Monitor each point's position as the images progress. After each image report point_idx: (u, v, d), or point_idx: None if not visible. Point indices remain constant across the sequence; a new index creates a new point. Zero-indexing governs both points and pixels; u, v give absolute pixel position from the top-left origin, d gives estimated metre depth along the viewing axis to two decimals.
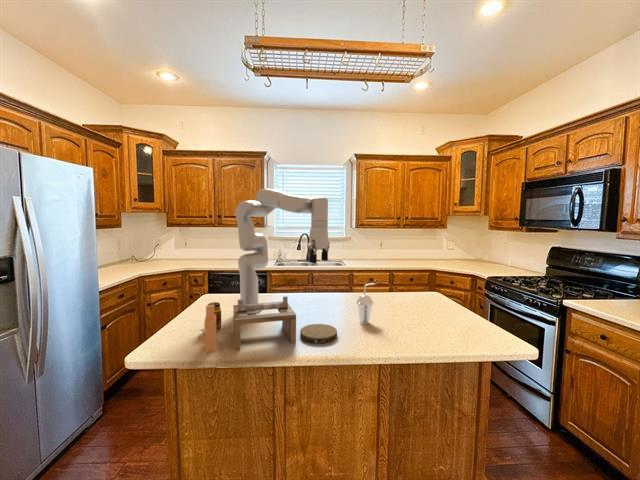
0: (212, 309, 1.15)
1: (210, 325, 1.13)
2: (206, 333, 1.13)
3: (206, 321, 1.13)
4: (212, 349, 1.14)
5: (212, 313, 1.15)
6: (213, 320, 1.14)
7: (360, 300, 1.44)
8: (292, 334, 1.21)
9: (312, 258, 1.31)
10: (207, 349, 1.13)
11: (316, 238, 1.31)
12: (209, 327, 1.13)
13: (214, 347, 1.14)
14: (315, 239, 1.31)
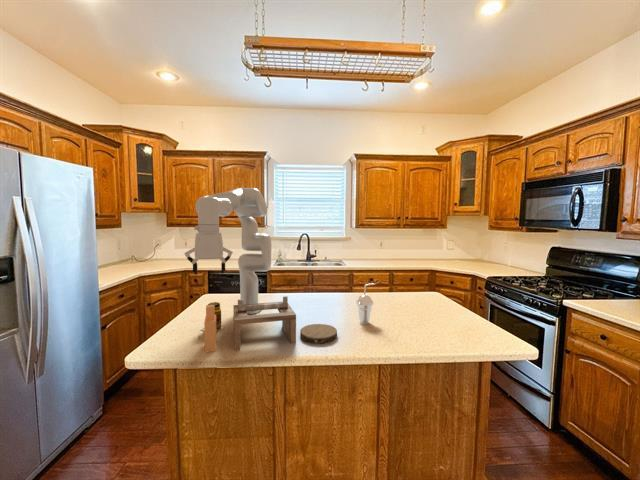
0: (212, 309, 1.15)
1: (210, 325, 1.13)
2: (206, 333, 1.13)
3: (206, 321, 1.13)
4: (212, 349, 1.14)
5: (212, 313, 1.15)
6: (213, 320, 1.14)
7: (360, 300, 1.44)
8: (292, 334, 1.21)
9: None
10: (207, 349, 1.13)
11: None
12: (209, 327, 1.13)
13: (214, 347, 1.14)
14: None
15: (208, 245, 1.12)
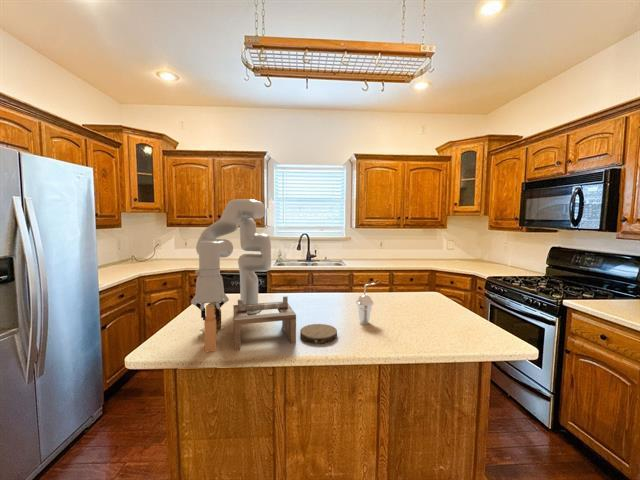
0: (212, 309, 1.15)
1: (210, 325, 1.13)
2: (206, 333, 1.13)
3: (206, 321, 1.13)
4: (212, 349, 1.14)
5: (212, 313, 1.15)
6: (213, 320, 1.14)
7: (360, 300, 1.44)
8: (292, 334, 1.21)
9: None
10: (207, 349, 1.13)
11: None
12: (209, 327, 1.13)
13: (214, 347, 1.14)
14: None
15: (209, 289, 1.13)
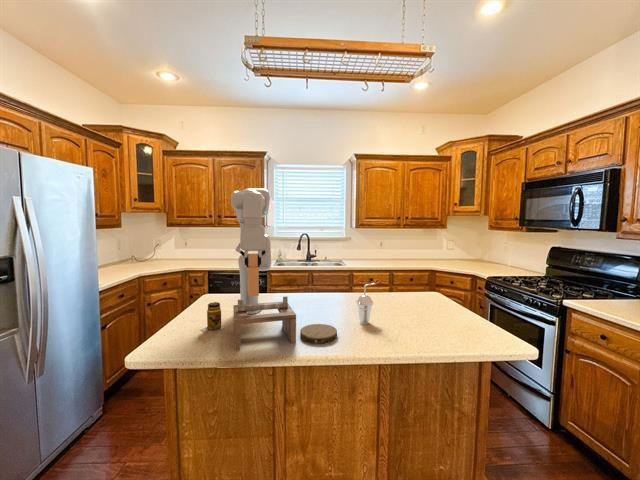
0: (255, 257, 1.22)
1: (253, 271, 1.19)
2: (250, 278, 1.19)
3: (250, 267, 1.20)
4: (255, 294, 1.20)
5: (255, 261, 1.22)
6: (256, 267, 1.21)
7: (360, 300, 1.44)
8: (292, 334, 1.21)
9: (261, 261, 1.24)
10: (251, 294, 1.20)
11: None
12: (253, 273, 1.19)
13: (257, 292, 1.21)
14: None
15: (253, 237, 1.20)
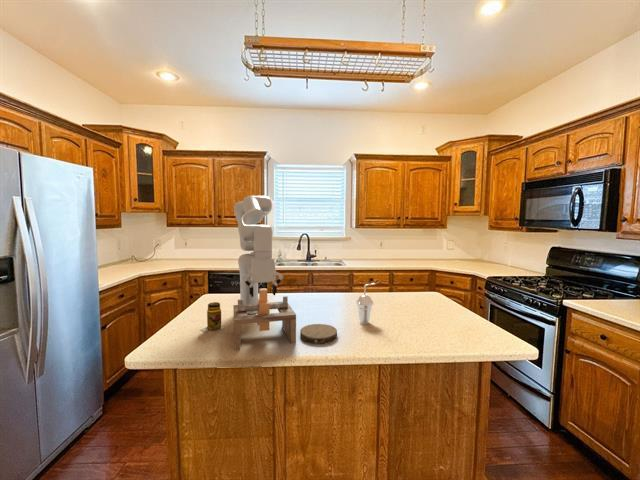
0: (265, 292, 1.25)
1: (264, 307, 1.23)
2: None
3: (261, 303, 1.23)
4: (266, 328, 1.24)
5: (265, 296, 1.25)
6: (267, 302, 1.24)
7: (360, 300, 1.44)
8: (292, 334, 1.21)
9: None
10: (261, 328, 1.23)
11: None
12: (264, 308, 1.23)
13: (268, 327, 1.24)
14: None
15: (263, 270, 1.23)
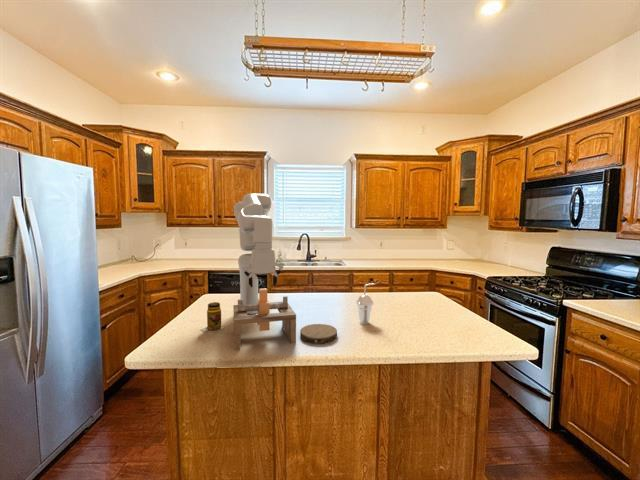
0: (265, 292, 1.25)
1: (264, 306, 1.23)
2: None
3: (261, 303, 1.23)
4: (266, 328, 1.24)
5: (265, 296, 1.25)
6: (267, 302, 1.24)
7: (360, 300, 1.44)
8: (292, 334, 1.21)
9: (276, 280, 1.28)
10: (262, 328, 1.23)
11: None
12: (264, 308, 1.23)
13: (268, 327, 1.24)
14: None
15: (263, 261, 1.23)
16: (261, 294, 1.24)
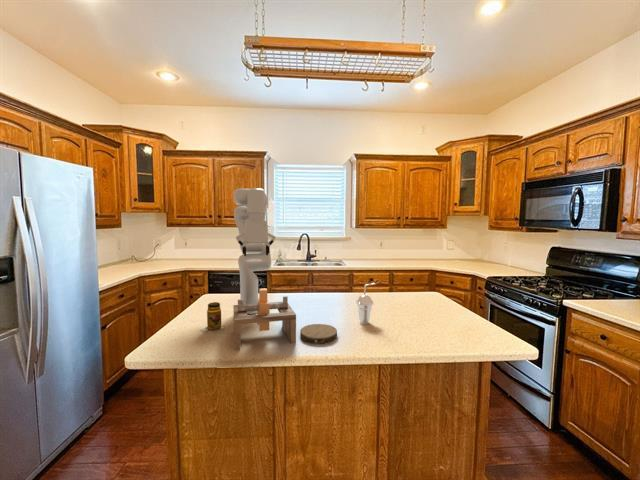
0: (265, 292, 1.25)
1: (264, 307, 1.23)
2: None
3: (261, 303, 1.23)
4: (266, 328, 1.24)
5: (265, 296, 1.25)
6: (267, 302, 1.24)
7: (360, 300, 1.44)
8: (292, 334, 1.21)
9: (269, 250, 1.34)
10: (261, 328, 1.23)
11: None
12: (264, 309, 1.23)
13: (268, 327, 1.24)
14: None
15: (256, 231, 1.29)
16: (261, 294, 1.24)
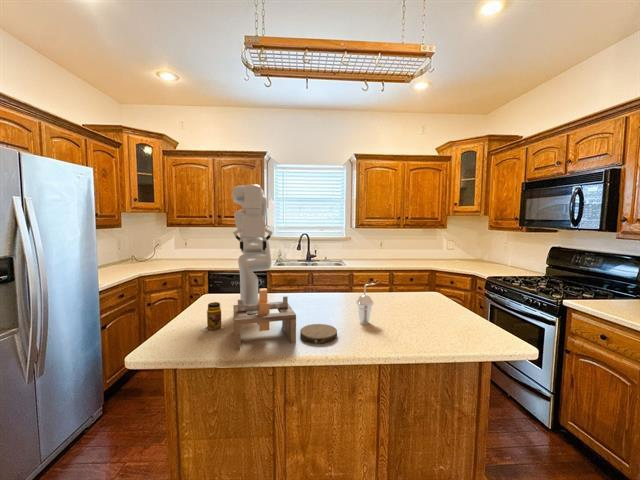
0: (265, 292, 1.25)
1: (264, 307, 1.23)
2: None
3: (261, 303, 1.23)
4: (266, 328, 1.24)
5: (265, 296, 1.25)
6: (267, 302, 1.24)
7: (360, 300, 1.44)
8: (292, 334, 1.21)
9: (266, 245, 1.37)
10: (261, 328, 1.23)
11: None
12: (264, 309, 1.23)
13: (268, 327, 1.24)
14: None
15: (253, 226, 1.32)
16: (261, 294, 1.24)
